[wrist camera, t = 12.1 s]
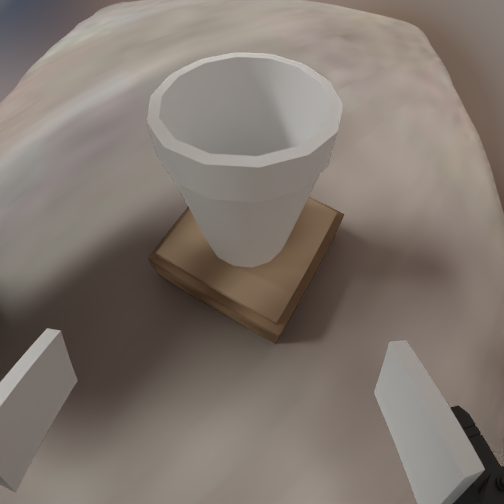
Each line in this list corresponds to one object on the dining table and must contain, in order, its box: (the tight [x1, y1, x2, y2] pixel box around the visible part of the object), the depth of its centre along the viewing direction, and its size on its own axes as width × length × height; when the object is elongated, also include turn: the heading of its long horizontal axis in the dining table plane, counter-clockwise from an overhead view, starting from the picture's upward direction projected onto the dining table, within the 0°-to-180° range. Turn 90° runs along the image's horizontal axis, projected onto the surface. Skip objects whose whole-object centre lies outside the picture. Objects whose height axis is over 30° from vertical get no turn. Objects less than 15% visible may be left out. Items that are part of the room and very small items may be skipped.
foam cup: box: [147, 53, 343, 268], centre depth 20 cm, size 10×9×13 cm
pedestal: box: [148, 197, 344, 344], centre depth 27 cm, size 12×12×4 cm
